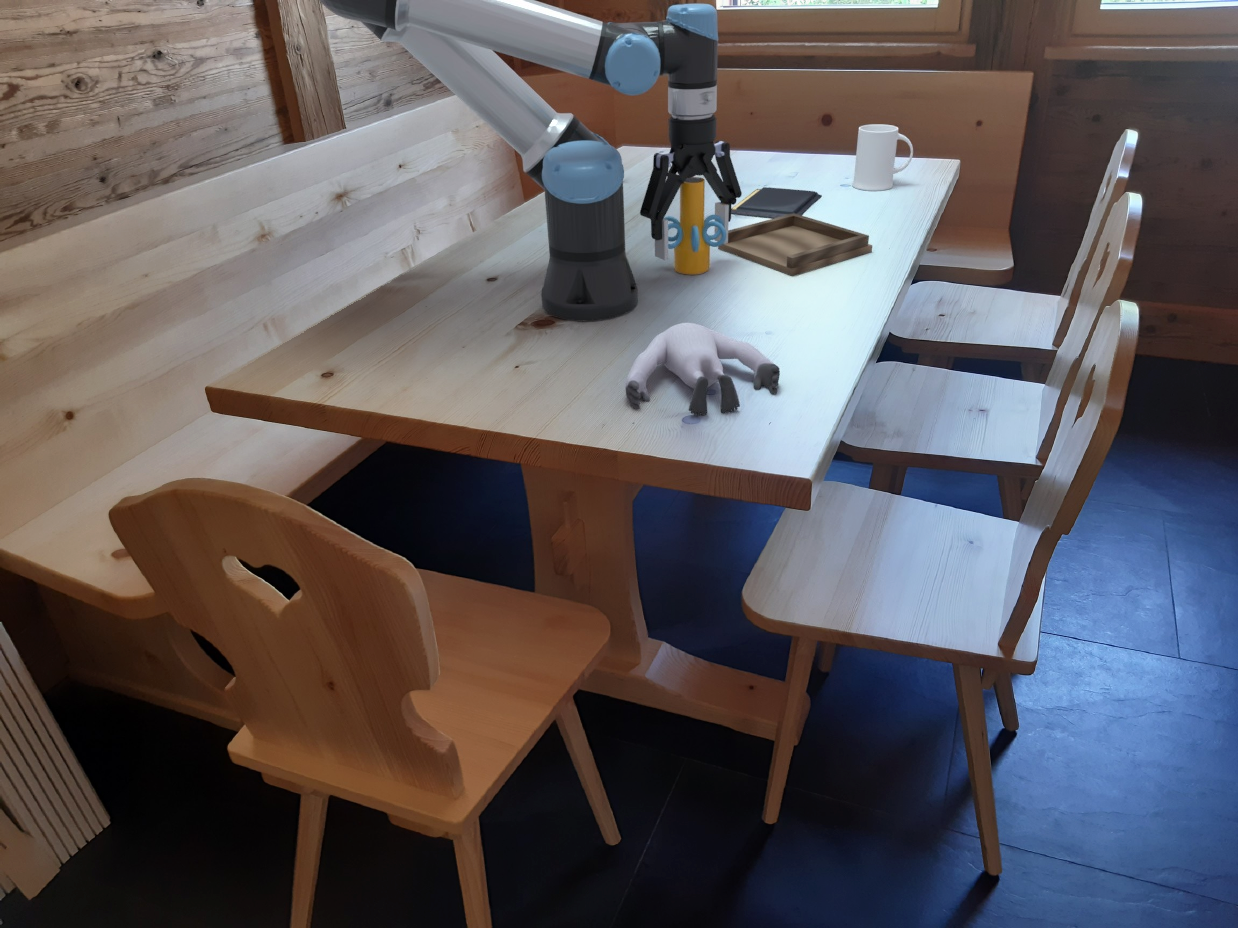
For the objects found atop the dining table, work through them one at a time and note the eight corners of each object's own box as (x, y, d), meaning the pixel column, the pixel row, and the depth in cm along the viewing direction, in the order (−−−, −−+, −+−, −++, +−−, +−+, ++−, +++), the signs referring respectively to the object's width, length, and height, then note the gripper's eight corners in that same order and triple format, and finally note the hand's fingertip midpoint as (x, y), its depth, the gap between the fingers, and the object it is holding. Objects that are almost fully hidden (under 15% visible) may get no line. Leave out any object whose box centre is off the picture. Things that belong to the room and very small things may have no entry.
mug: (909, 182, 198) (916, 124, 192) (908, 192, 191) (915, 133, 185) (853, 180, 201) (858, 123, 195) (850, 190, 194) (856, 132, 188)
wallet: (795, 215, 176) (722, 207, 182) (794, 224, 177) (722, 216, 183) (826, 189, 191) (757, 183, 197) (825, 198, 192) (757, 192, 198)
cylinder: (646, 274, 154) (643, 185, 146) (672, 256, 161) (671, 169, 154) (713, 284, 149) (714, 191, 141) (736, 264, 156) (739, 175, 149)
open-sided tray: (792, 276, 150) (793, 258, 149) (718, 248, 164) (718, 232, 162) (871, 251, 159) (873, 235, 158) (794, 227, 173) (795, 212, 171)
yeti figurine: (786, 426, 111) (759, 356, 128) (794, 377, 108) (765, 312, 125) (626, 422, 110) (620, 351, 127) (629, 372, 107) (622, 307, 123)
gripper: (643, 130, 134) (647, 271, 145) (766, 107, 145) (760, 240, 156) (614, 123, 139) (620, 259, 150) (735, 101, 150) (732, 230, 162)
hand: (691, 249), depth 153 cm, fingers closed on cylinder, 12 cm apart
